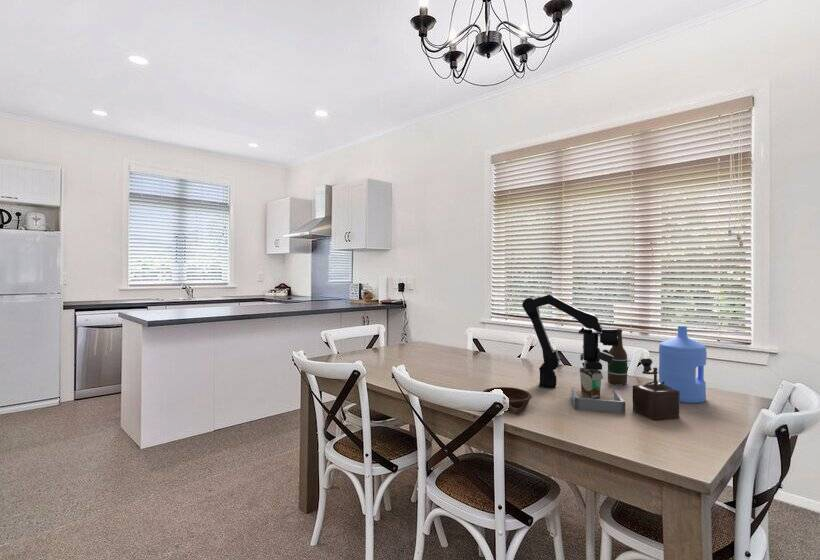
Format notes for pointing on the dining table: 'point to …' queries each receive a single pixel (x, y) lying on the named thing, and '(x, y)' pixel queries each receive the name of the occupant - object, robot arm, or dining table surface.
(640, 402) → the manual coffee grinder
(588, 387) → the food container
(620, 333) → the beer bottle
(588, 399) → the box
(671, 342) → the water jug
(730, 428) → the dining table surface
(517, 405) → the dish
